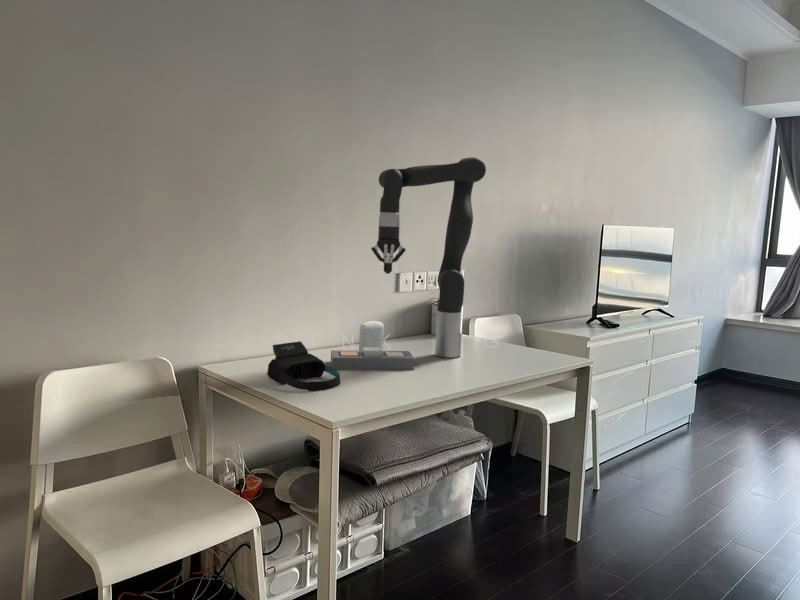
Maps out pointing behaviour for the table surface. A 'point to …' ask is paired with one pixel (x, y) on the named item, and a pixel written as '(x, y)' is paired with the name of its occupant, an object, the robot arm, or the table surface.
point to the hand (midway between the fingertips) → (387, 273)
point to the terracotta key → (349, 354)
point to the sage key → (372, 351)
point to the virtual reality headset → (299, 368)
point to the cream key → (394, 354)
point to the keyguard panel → (372, 361)
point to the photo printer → (371, 335)
